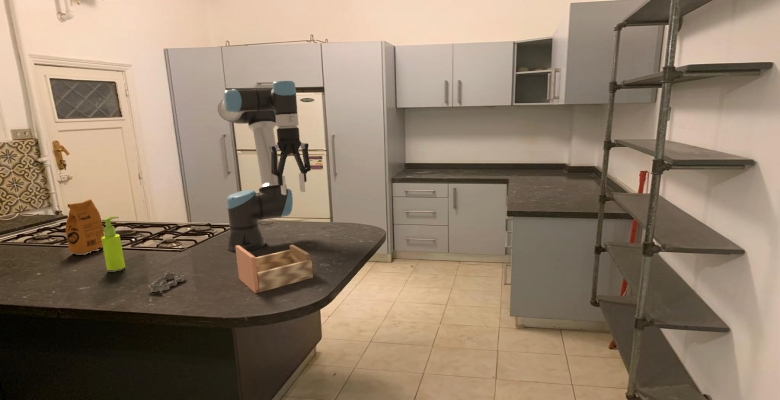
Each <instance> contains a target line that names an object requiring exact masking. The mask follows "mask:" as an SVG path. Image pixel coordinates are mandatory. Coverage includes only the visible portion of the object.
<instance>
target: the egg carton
mask: <svg viewBox="0 0 780 400" xmlns="http://www.w3.org/2000/svg"><path fill="white" fill-rule="evenodd" d="M185 276H186V275H185V274H182V275H181V274H178V275H177V276H176V273H175V272H171V271H170V270H168V271H165V272H163V274H162V275H161V277H159V278H157V280H155V281H153V282H152V283H151V284H148V285H147V287H149V288H150V293H151V292H154V291H160V292H161V293H162V294H163V291H167V290H169V289H170V288H171V287H174V286H177V285H178V283H182V282H185V281H184V280H185V279H184V277H185ZM170 280H172V281H170ZM160 292H159V293H160Z"/></svg>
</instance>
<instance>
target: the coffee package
mask: <svg viewBox="0 0 780 400" xmlns="http://www.w3.org/2000/svg"><path fill="white" fill-rule="evenodd" d="M67 208H69V212H68V217H67V219H66V223H65V234H66V239H67V245H68V246H67V247H68V253H70V252H74V253H86V252H90V251H92V250H96V249H98V248H99V247H101V246H103V245H102V240H101V238H102V237H103V236H105V234H104V226H103V221H102V218H101V214H100V212H99V210H98V209H97V207H96V206H95V203H94V202H93V200H92V199H91V198H89V199H87V200H84V201H83V202H75V203H73V202H72V203H67Z"/></svg>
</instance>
